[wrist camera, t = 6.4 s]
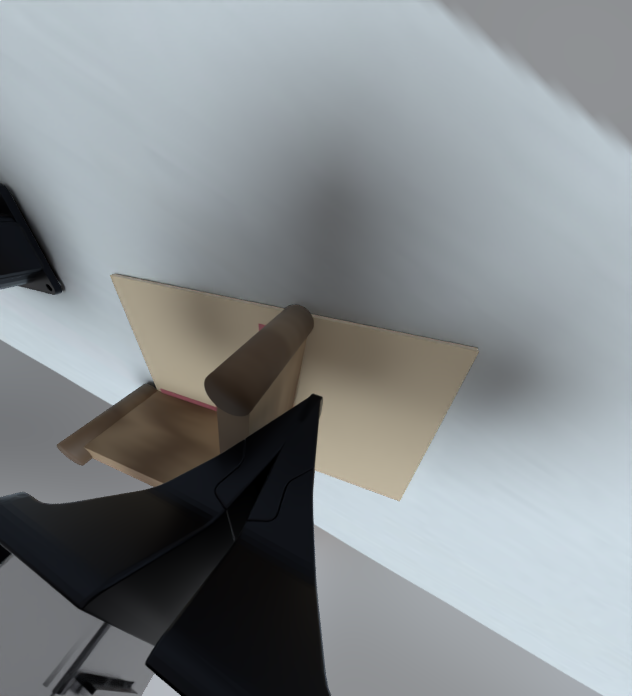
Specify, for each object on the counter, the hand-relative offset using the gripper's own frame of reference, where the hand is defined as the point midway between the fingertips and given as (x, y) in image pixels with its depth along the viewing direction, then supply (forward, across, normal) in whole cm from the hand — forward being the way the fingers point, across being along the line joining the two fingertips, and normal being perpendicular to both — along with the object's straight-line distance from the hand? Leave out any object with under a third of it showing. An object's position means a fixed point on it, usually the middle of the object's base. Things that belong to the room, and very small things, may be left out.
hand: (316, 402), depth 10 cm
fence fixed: (+3, +10, +8) cm, 13 cm away
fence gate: (+2, +3, +2) cm, 4 cm away
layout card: (+3, +4, +4) cm, 7 cm away
